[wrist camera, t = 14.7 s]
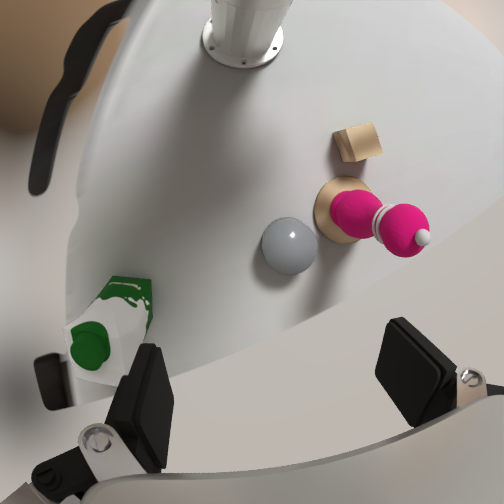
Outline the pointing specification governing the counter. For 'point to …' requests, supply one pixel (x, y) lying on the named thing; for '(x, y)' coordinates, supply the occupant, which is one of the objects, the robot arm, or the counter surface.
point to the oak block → (358, 142)
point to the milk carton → (110, 331)
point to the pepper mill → (381, 222)
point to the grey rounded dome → (289, 246)
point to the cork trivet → (324, 205)
